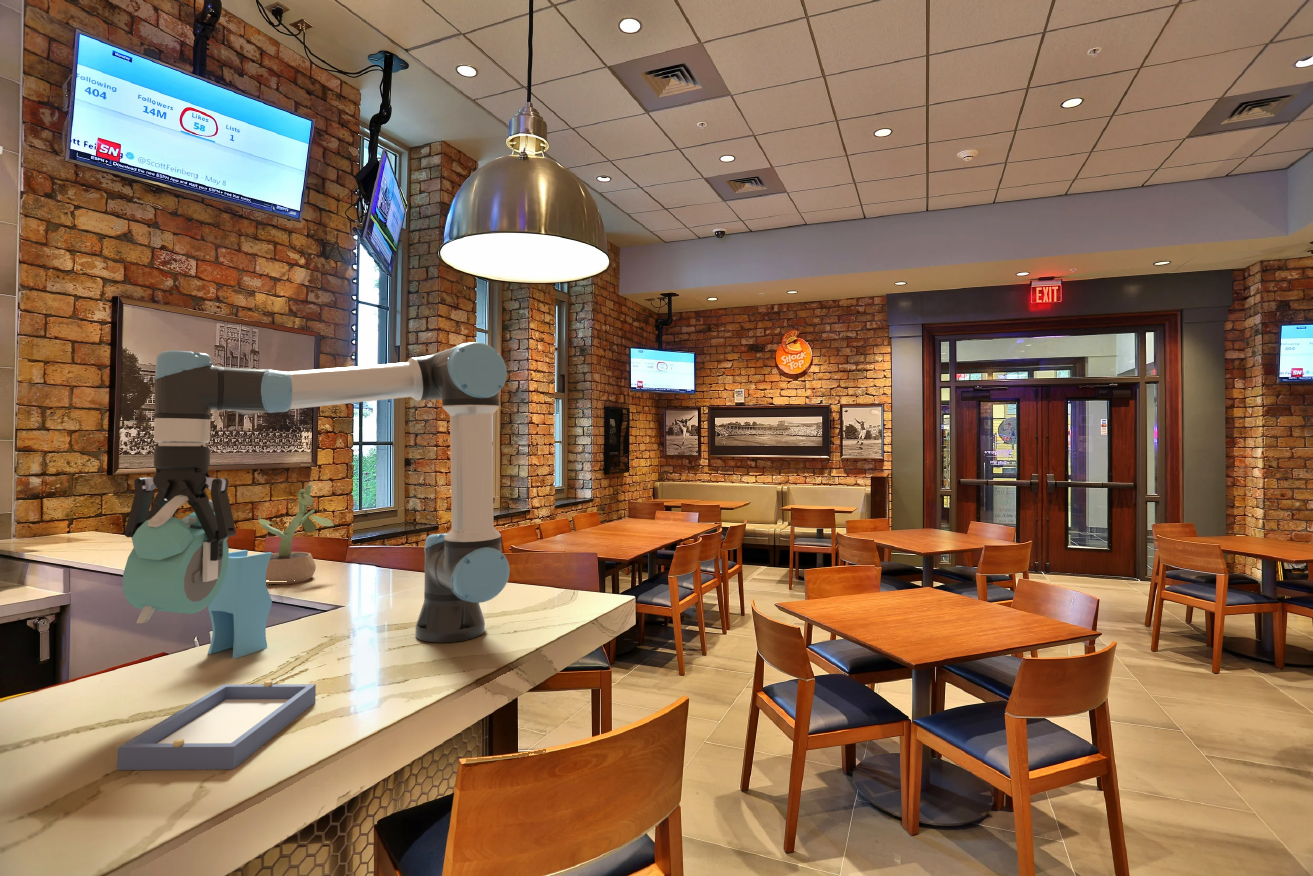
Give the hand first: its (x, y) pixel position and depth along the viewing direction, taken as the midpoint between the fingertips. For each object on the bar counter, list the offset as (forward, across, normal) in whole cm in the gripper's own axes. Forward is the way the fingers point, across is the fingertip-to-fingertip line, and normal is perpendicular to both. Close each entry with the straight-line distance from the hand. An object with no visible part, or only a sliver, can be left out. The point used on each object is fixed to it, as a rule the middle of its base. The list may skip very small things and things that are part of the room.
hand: (180, 580), depth 106 cm
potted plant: (+21, +30, -94) cm, 101 cm away
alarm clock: (+6, 0, 0) cm, 6 cm away
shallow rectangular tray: (+20, -15, +11) cm, 27 cm away
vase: (+21, +6, -27) cm, 35 cm away
